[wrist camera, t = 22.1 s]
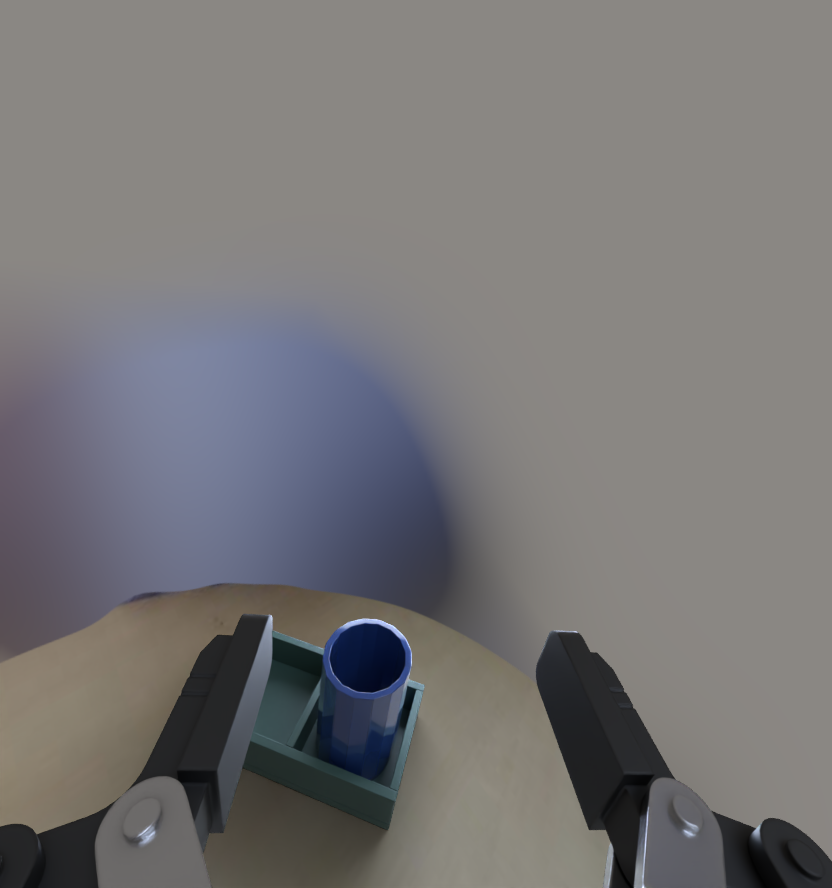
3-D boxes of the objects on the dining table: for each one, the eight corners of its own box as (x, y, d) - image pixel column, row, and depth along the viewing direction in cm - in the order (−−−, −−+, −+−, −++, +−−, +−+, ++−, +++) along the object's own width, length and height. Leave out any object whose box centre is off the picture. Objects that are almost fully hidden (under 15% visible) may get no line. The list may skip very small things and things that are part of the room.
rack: (388, 831, 27) (395, 801, 26) (188, 744, 30) (184, 713, 28) (418, 712, 35) (424, 685, 33) (256, 652, 38) (255, 624, 36)
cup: (394, 704, 34) (411, 622, 30) (392, 789, 29) (412, 702, 25) (324, 699, 34) (331, 615, 30) (307, 784, 28) (314, 695, 24)
